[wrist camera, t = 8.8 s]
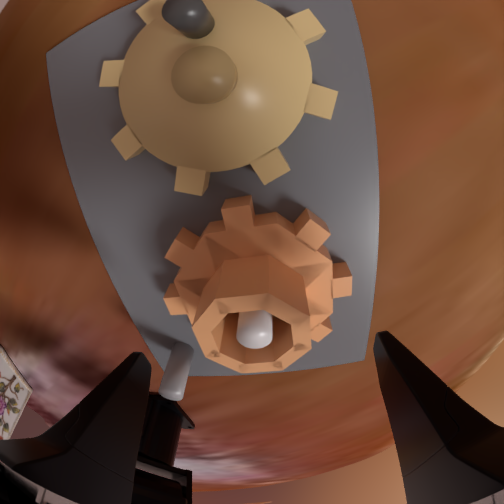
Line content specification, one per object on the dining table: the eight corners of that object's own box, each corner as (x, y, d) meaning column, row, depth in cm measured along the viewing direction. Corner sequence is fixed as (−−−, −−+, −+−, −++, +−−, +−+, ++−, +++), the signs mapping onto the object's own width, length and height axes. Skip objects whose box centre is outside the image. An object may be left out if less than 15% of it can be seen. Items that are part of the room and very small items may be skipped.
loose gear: (343, 332, 15) (356, 384, 12) (198, 347, 16) (186, 397, 13) (343, 182, 11) (374, 217, 7) (144, 215, 12) (106, 256, 9)
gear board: (361, 349, 17) (375, 403, 13) (169, 365, 19) (155, 414, 15) (334, -25, 6) (362, -71, 3) (57, 54, 8) (-3, 52, 4)
